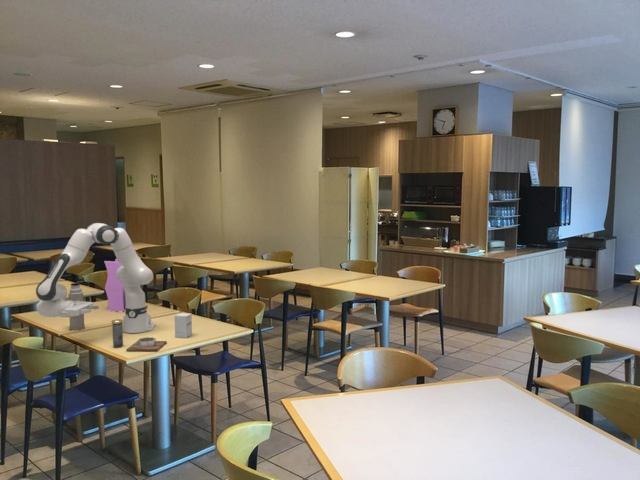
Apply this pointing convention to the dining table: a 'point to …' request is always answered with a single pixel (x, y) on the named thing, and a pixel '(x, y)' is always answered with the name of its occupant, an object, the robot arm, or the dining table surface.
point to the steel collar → (146, 342)
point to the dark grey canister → (117, 333)
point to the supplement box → (183, 325)
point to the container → (114, 287)
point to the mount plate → (146, 349)
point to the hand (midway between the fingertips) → (94, 309)
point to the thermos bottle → (77, 294)
